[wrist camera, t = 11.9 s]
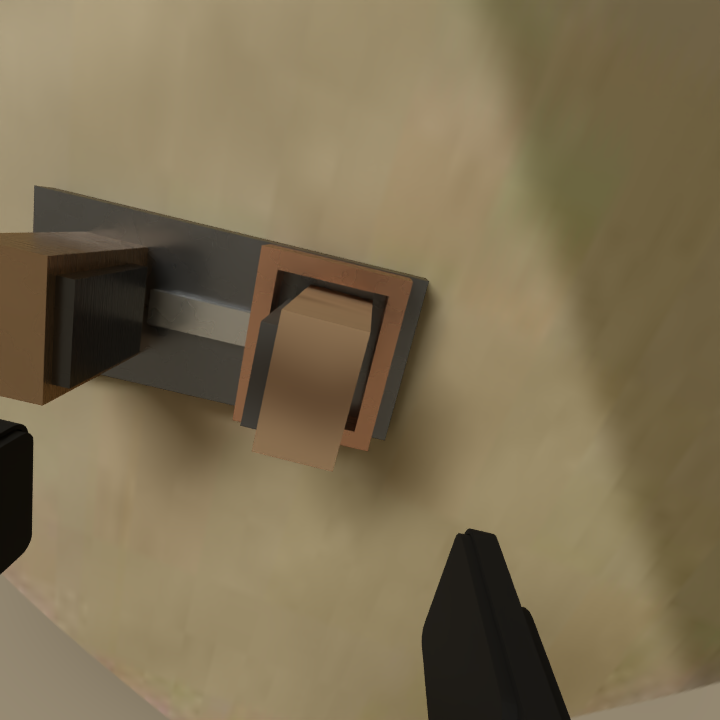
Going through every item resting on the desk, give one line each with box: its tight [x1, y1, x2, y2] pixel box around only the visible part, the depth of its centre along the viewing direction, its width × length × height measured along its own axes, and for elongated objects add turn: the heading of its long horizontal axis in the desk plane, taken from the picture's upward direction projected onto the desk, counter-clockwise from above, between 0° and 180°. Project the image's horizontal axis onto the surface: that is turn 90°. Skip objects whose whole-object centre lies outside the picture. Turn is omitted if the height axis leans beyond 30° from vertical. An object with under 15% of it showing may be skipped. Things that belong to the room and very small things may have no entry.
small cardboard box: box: [240, 285, 373, 472], centre depth 23 cm, size 6×4×8 cm
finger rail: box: [0, 186, 429, 451], centre depth 23 cm, size 22×10×10 cm, turn 77°
